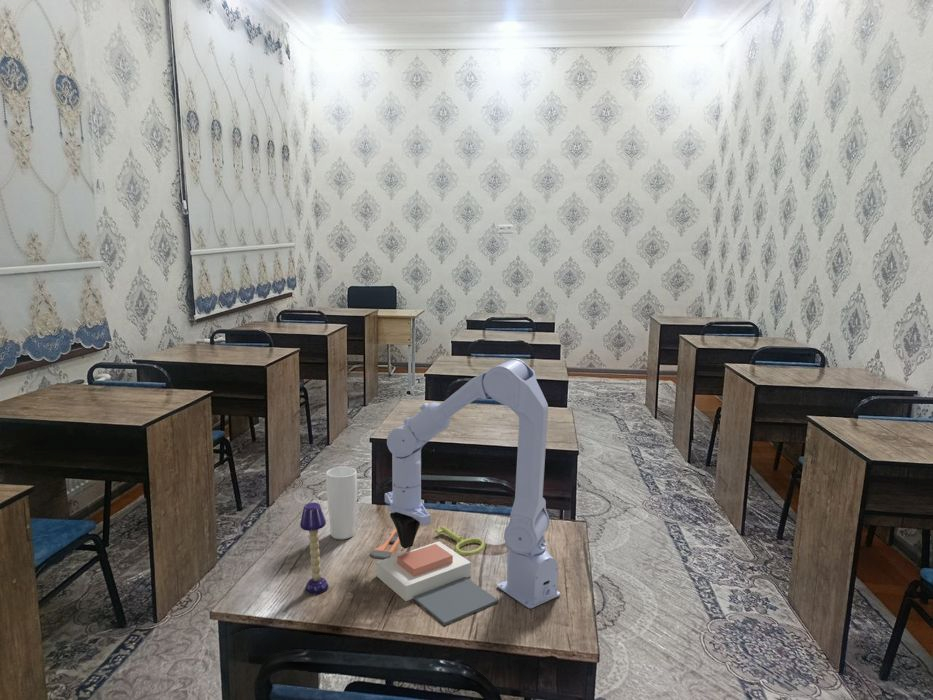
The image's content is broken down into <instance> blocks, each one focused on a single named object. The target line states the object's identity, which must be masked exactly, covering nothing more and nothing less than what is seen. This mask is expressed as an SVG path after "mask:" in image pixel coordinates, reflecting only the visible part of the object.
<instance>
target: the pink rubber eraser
mask: <svg viewBox="0 0 933 700" xmlns="http://www.w3.org/2000/svg"><path fill="white" fill-rule="evenodd" d="M450 563H453V555H451V554H450V553H448V552H447V551H445V550H444V549H442V548H441V547H439V546H438V545H436V544H434V545H431V546H428V547H425V548H422V549H419V550H416V551H413V552H410V553H407V554H404V555H401V556H398V557H397V564H398V565H400V566H401V567H402V568H404V569H405V570H406V571H407V572H409V573H410V574H411V575H412V576H417V575H420V574H423V573H425V572H428V571H431V570H434V569H437V568H439V567H442V566H445V565H448V564H450Z"/></svg>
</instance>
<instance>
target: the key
mask: <svg viewBox="0 0 933 700" xmlns="http://www.w3.org/2000/svg"><path fill="white" fill-rule="evenodd" d="M434 532H435V533H436V534H437V535H440V534H442V533H443V534H444V535H446V536H448V537H449V538H451V539H452V540H453V541H455V543H456V545H455V546H454V547H455V548H454V551H455V552H456V553H458V554H459V555H461V556H471V555H474V554H477V553H479V552H482V551H483V550H484V549H485V547H486V543H485V541H484V539H481V538H479V537H470V538H466V539H465V538H464V537H463V536H462V535H461V536H459V535H457V534H456V533H455V532H453V531H451V530H450V529H448V528H447V527H445V526H444V525H441V526H440V528H438V529H435V531H434ZM469 543H471V544H479V543H480V545H479V547H477V548H475V549H472V550H462V549H461V548H462V547H463V546H466V544H467V545H470V544H469Z"/></svg>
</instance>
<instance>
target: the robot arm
mask: <svg viewBox="0 0 933 700" xmlns="http://www.w3.org/2000/svg"><path fill="white" fill-rule="evenodd" d="M489 398H491V399H493V401H495V402H498V403H499V404H502V405H504V406H506V408H508V409H510V410H511V411H512V412H514V414H515V415H517V416H518V418H519V420H518V436H517V438H518V440H517V457H516V473H515V488H514V489H515V491H514V492H515V493H514V494H515V495H514V501H513V505H512V508H511V511H510V513H509V522H508V525H507V526H506V527H505V530H504V532H503V533H504V534H503V537H504V539H503V540H504V542H505V544H506V546H507V560H506V562H507V563H506V564H507V565H506V580H504V581H502V582H499V583H497V584H496V587H497V588H498V589H500V590H501V591H503V592H504V593H505V594H507V595H509V597H511V598H513V599H514V600H515V601H517V602H519V603H520V604H522V605H523V606H524V607H526V608H527V609H533V608H536V607H537V606H539V605H542V604H544V603H546V602H548V601H550V600H553V599H555V598H557V597H559V596H561V592H560V591H559V590H558V581H559V580H558V579H559V563H558V562H557V560H556V559H555V558H554V557H553V556H552V555H551V554H550V553H549V551H548V549H547V542H546V539H545V536H544V534H545V532H547V530H548V529H549V526H550V517H549V513H548V512H547V507H546V506H547V505H546V504H547V501H546V499H545V498H544V497H543V496H544V495H543V494H544V493H543V492H544V478H545V461H546V448H547V447H546V446H547V429H548V417H549V415H548V414H549V404H548V402H547V400H546V397H545V396H544V393H543V391H542V389H541V387H540V384H539V383H538V380H537V376H536V371H535V370H534V369H533V368H531V367H530V366H529V365H528V364H527V363H526V362H525V361H523V360H522V359H519V358H509V359H506V360H505V361H503V362H502V363H500V364H499V365H495V366H492V367H491V368H489V370H486V371H484V372H482V373H481V374H477V376H475V377H473V378H471V379H470V380H468V381H467V382H466V383H465V384H464V385H462V386H461V387H460V388H459V389H458V390H456V391H455V392H454V393H452V394H451V395H450V396H449V397H448V398H446V399H445V400H444V401H442V402H440V403H439V402H434V401H433V402H430V403H428V402H425V403H423V404H422V405H420V407H419V409H420V411H418V412H417V413H416V414H414V415H413V416H412V417H409V416H408V417H406V418H405V419H404V420H403V423H404V424H403V425H401V426H399V427H395V428H393V429H392V430H391V431H390V432H389V434H388V436H387V438H386V446H387V448H388V451H389V452H390V454H392V455H391V457H392V458H391V460H392V461H391V464H392V465H391V466H392V467H391V469H392V473H391V474H392V476H391V477H392V491H389V492H386V493H384V503H386V504H389V506H388V507H387V511H389V512H390V514H389V517H390V519H391V520H392V522H393V525H394V526H395V528H396V529H397V533H398V536H399V541H400V542H399V544H400V547H402V548H403V549H408V548H411V547H413V546H414V542H415V540H416V539H415V538H416V535H417V531H418V529H419V526H421V527H425V526H426V527H427V526H429V525H431V523H432V521H431V520H432V514H430V513H429V512H428V511H427V510H426V507H425V505H424V504H423V502H422V449H423V447H424V446H425V445H426V444H427V443H428V442H429V441H431V440H432V439H433V438H435V437H436V436H438V435H439V434H440V433H442V432H443V431H445V430H447V428H449V427H450V424H451V419H452V416H453V415H455V414H456V413H458V412H460V410H462V409H464V408H465V407H467V406H468V405H469V404H471V403H473V402H474V401H476V400H477V399H481V400H488V399H489Z"/></svg>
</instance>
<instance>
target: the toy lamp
mask: <svg viewBox="0 0 933 700" xmlns="http://www.w3.org/2000/svg"><path fill="white" fill-rule="evenodd" d="M326 522H327V520H326V518H325V514H324V512H323V509H322V507H321V504H320V503H319V502H308V503H306V504H305V505H304V507H303V509H302V513H301V519H300V528H301V529H302V530H303V531H307V532H308V534H309V536H308V539H309V548H310V550H309V555H310V563H311V578H310V579H308V581H307V582H306V584H305V591H306V593H308V594H310V595H319V594H322V593H323V594H324V593H325V592H326V591H327V590H328V589H329V583H328V581H327V580H326V579H325V578H324V577H322V572H321V569H322V567H321V564H320V563H321V558H320V548H319V547H320V542H319V538H320V537H319V534H318V533H319V530H320V529H322V528H324V527H325V526H326V525H327V523H326Z"/></svg>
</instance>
